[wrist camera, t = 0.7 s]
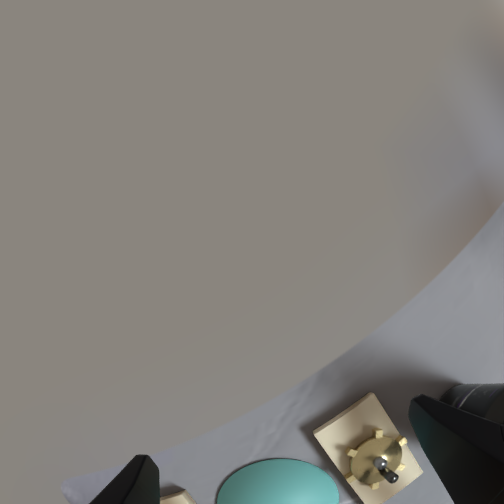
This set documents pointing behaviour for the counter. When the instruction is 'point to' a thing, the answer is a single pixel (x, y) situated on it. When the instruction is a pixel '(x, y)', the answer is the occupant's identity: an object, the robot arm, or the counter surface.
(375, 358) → the counter surface
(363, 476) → the brass gears
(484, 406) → the supplement bottle
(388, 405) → the counter surface
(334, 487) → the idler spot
